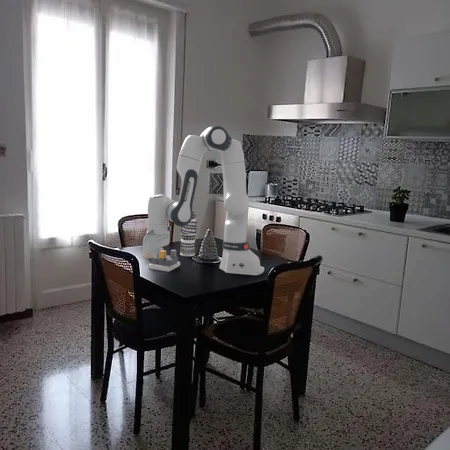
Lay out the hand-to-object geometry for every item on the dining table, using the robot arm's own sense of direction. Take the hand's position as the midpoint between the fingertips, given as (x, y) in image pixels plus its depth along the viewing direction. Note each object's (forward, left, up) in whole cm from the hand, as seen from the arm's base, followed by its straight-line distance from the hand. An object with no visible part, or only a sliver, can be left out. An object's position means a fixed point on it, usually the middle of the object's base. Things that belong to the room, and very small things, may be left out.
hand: (156, 257), depth 209 cm
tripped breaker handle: (0, -6, -2) cm, 6 cm away
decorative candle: (+1, -37, -7) cm, 38 cm away
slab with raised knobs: (0, -8, -7) cm, 11 cm away
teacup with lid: (+16, -23, -7) cm, 29 cm away
